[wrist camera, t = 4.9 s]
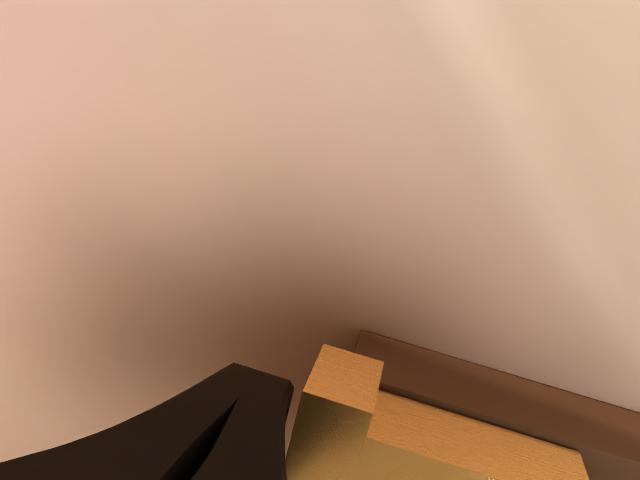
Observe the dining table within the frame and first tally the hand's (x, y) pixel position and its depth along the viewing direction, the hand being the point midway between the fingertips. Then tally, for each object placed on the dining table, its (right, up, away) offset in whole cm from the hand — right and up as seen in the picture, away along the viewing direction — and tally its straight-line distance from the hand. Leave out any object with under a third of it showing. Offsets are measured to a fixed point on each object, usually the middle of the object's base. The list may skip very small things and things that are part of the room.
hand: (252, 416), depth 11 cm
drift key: (+3, -1, 0) cm, 4 cm away
